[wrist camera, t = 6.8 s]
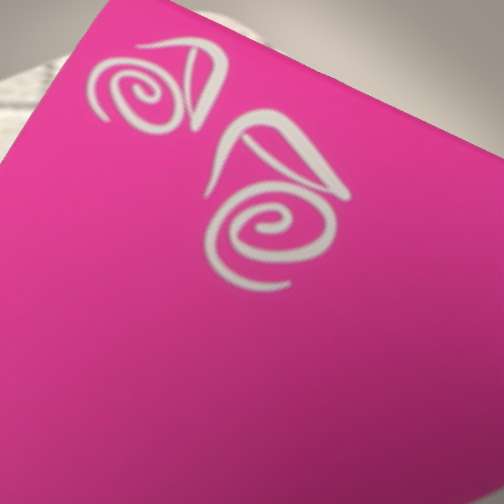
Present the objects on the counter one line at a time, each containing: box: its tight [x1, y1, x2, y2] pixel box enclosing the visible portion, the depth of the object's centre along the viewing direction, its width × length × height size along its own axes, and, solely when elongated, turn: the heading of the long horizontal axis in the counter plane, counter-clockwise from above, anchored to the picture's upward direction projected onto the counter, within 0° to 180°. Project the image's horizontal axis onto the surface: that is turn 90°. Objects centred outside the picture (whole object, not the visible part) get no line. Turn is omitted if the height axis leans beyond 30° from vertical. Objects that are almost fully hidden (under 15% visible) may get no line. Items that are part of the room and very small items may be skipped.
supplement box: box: [0, 0, 504, 504], centre depth 9 cm, size 6×6×12 cm
